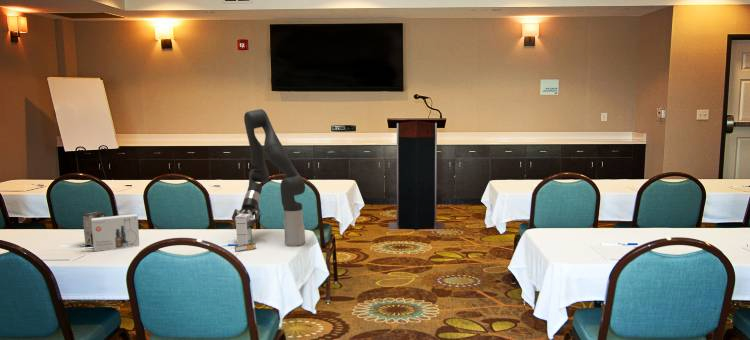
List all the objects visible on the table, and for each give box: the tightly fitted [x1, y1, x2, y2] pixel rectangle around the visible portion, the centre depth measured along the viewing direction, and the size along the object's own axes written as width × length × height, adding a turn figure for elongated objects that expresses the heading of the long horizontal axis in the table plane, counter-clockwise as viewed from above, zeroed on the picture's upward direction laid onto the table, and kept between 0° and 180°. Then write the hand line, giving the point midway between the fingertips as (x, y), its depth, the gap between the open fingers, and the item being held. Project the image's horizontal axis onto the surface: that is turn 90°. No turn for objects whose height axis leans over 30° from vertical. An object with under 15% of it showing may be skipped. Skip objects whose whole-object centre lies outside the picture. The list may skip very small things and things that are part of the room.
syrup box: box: [235, 213, 253, 245], centre depth 300 cm, size 6×6×14 cm
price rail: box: [234, 242, 257, 253], centre depth 287 cm, size 10×2×2 cm, turn 123°
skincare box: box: [91, 213, 140, 252], centre depth 298 cm, size 21×5×16 cm, turn 117°
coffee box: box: [82, 211, 106, 247], centre depth 307 cm, size 9×6×16 cm
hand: (242, 227), depth 299 cm, fingers open, 8 cm apart
